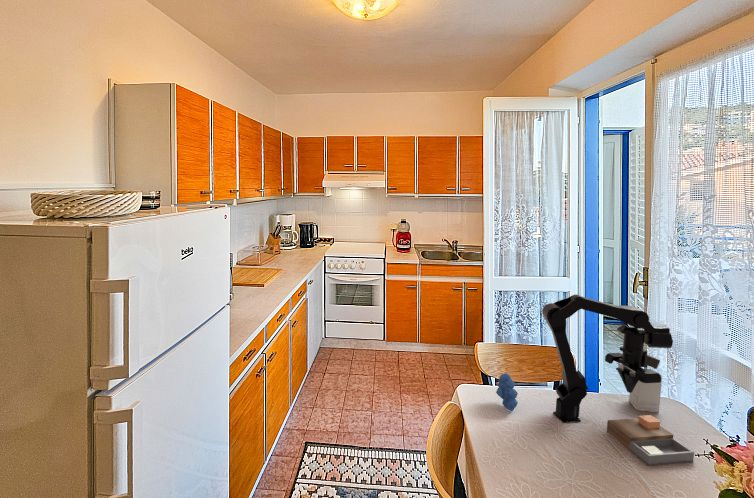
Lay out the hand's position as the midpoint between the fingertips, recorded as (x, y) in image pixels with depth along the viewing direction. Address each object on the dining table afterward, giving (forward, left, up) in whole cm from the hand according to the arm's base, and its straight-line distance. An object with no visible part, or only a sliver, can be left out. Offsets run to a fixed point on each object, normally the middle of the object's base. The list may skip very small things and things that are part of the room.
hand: (629, 392), depth 139 cm
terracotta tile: (0, -9, -6) cm, 11 cm away
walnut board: (-4, -10, -10) cm, 15 cm away
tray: (-4, -18, -10) cm, 22 cm away
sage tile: (-7, -19, -8) cm, 22 cm away
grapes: (-36, +14, -11) cm, 40 cm away
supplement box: (+14, +9, -11) cm, 20 cm away
